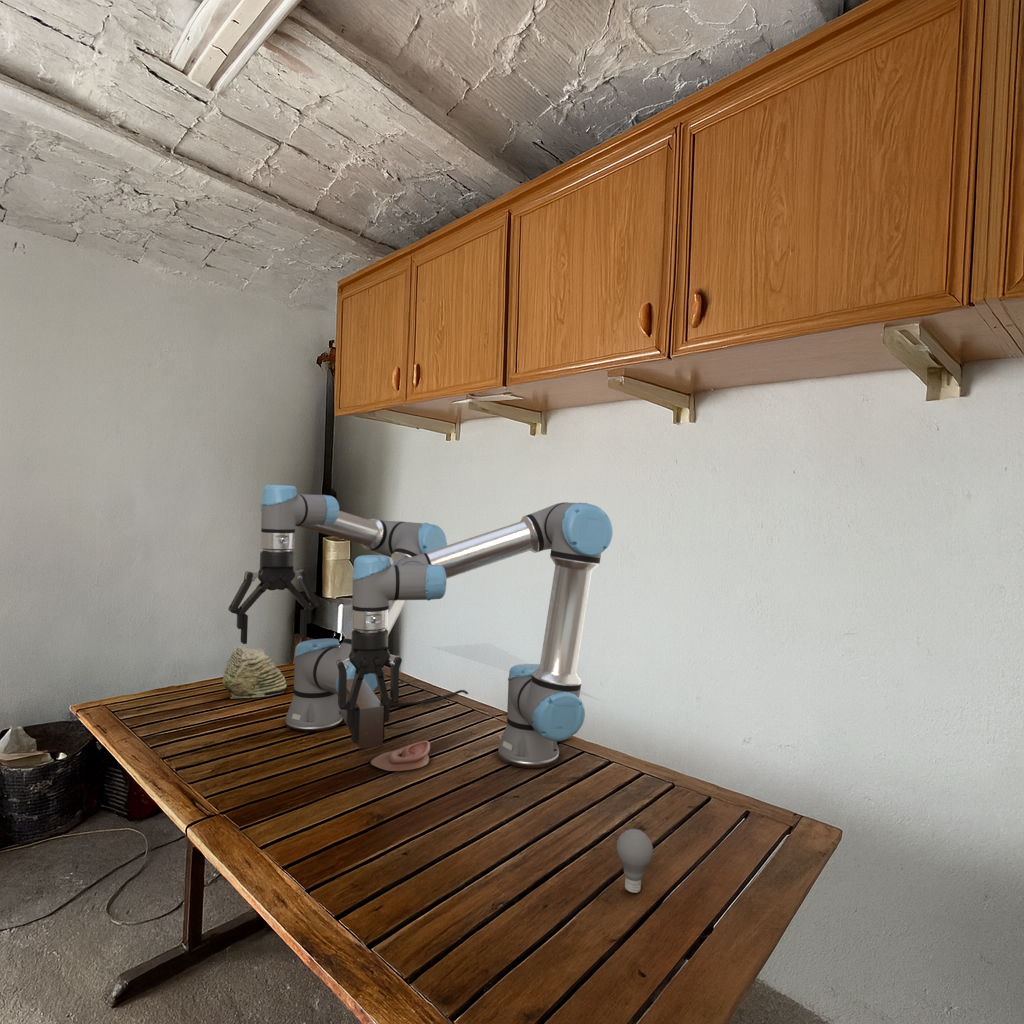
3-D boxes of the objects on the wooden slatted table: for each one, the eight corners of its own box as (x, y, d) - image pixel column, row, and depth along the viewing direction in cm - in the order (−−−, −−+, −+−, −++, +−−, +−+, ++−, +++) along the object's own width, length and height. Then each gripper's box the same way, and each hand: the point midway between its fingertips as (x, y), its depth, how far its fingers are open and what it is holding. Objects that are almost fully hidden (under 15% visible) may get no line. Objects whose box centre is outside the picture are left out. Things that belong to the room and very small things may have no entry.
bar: (341, 715, 149) (342, 679, 148) (362, 713, 151) (363, 677, 151) (359, 749, 129) (359, 708, 129) (382, 746, 131) (383, 706, 131)
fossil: (218, 695, 195) (220, 647, 195) (278, 685, 208) (279, 640, 207) (228, 703, 189) (230, 653, 188) (289, 692, 201) (290, 645, 201)
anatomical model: (365, 751, 148) (384, 733, 160) (364, 767, 148) (384, 749, 160) (419, 758, 146) (435, 740, 157) (418, 775, 146) (434, 756, 157)
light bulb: (610, 879, 108) (613, 822, 108) (644, 879, 109) (647, 822, 109) (619, 902, 102) (622, 840, 102) (655, 901, 103) (658, 840, 103)
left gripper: (224, 552, 139) (220, 648, 139) (334, 551, 154) (331, 638, 154) (216, 549, 145) (213, 641, 145) (323, 548, 160) (320, 632, 160)
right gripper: (328, 635, 126) (326, 751, 126) (416, 630, 133) (413, 739, 134) (323, 628, 133) (321, 738, 133) (407, 623, 140) (404, 727, 141)
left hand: (274, 640), depth 150 cm, fingers open, 13 cm apart
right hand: (367, 738), depth 134 cm, fingers closed on bar, 5 cm apart
